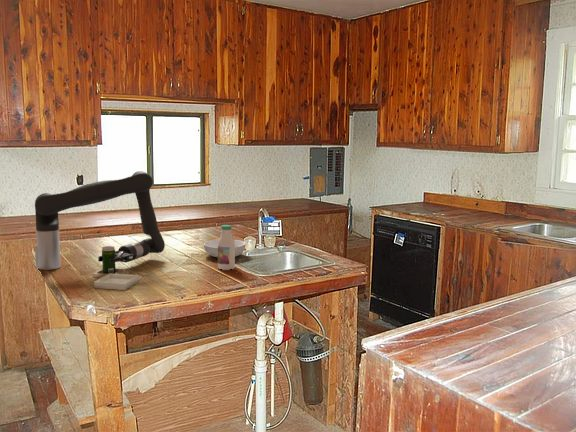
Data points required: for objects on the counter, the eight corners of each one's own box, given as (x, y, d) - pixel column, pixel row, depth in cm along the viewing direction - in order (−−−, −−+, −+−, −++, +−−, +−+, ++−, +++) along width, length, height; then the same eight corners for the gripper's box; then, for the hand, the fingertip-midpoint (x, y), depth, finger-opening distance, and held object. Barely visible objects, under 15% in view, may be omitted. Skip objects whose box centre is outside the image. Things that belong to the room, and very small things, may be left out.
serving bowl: (195, 256, 273) (195, 242, 271) (227, 250, 288) (227, 237, 287) (222, 263, 259) (222, 249, 257) (254, 256, 274) (254, 243, 273)
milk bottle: (227, 265, 255) (227, 223, 252) (238, 268, 250) (238, 225, 246) (214, 268, 250) (214, 225, 247) (224, 271, 244) (224, 227, 241)
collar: (92, 277, 231) (92, 273, 231) (103, 271, 241) (103, 267, 240) (114, 278, 229) (114, 275, 229) (125, 272, 239) (125, 269, 239)
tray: (94, 287, 215) (94, 281, 215) (109, 279, 228) (109, 273, 228) (125, 290, 213) (125, 283, 213) (139, 281, 226) (139, 275, 226)
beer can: (118, 274, 235) (117, 247, 233) (106, 277, 231) (105, 249, 229) (111, 272, 239) (110, 245, 237) (100, 274, 235) (99, 247, 233)
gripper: (118, 242, 249) (91, 249, 234) (143, 245, 243) (117, 253, 228) (118, 258, 250) (91, 266, 235) (143, 262, 245) (118, 270, 229)
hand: (104, 260), depth 231 cm, fingers closed on beer can, 5 cm apart
